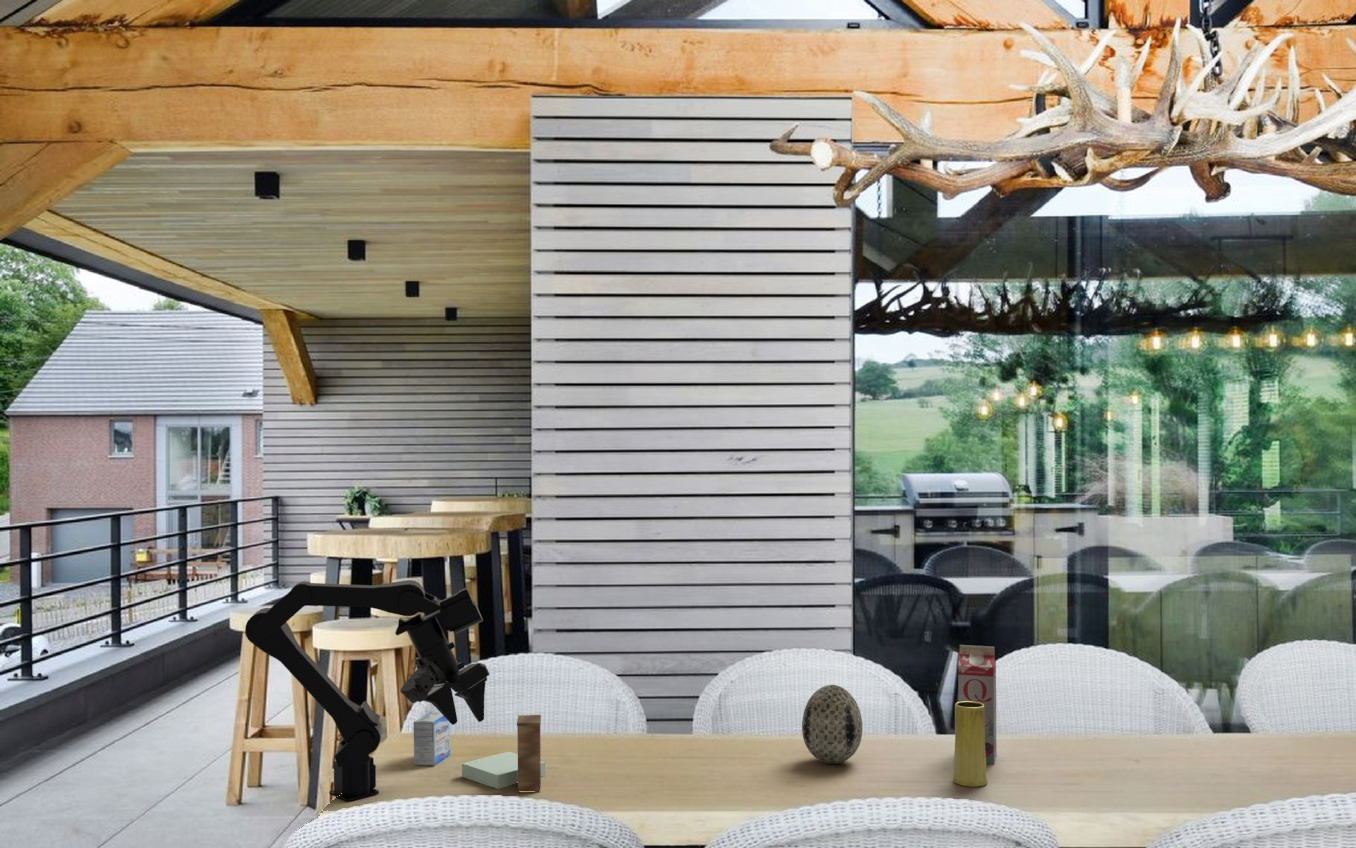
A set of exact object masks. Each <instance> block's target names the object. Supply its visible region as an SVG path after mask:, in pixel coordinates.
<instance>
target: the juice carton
mask: <svg viewBox="0 0 1356 848" xmlns="http://www.w3.org/2000/svg"><path fill="white" fill-rule="evenodd" d="M995 652H996V651H995V646H989V645H988V646H987V645H986V646H984V645H967V644H966V645H965V644H959V656H958V663H957V671H958V672H957V674H958V675H957V676H958V679H957V680H958V681H957V682H958V683H957V684H958V686H957V691H958V692H957V694H958V696H957V697H958V701H957V702H960V701H974V702H979V703H982V704H984V720H985V754H986V764H990V765H991V764H992V765H995V762H996V760H997V759H996V757H997V662H996V657H995Z"/></svg>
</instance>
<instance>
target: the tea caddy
mask: <svg viewBox="0 0 1356 848" xmlns="http://www.w3.org/2000/svg"><path fill="white" fill-rule="evenodd" d="M541 719H542V715H541V714H526V715H524V714H522V715H519V714H518V715H517V720H516V721H517V722H516V727H517V754H518V784H517V792H518V791H540V792H541V790H540V789H541V788H542V785H541V784H542V781H541V780H542V777H541V761H542V759H541V756H542V753H541V752H542V751H541V748H542V747H541V746H542V744H541V743H542V741H541V740H542V739H541V725H542V724H541V723H542V720H541Z"/></svg>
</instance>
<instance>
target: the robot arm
mask: <svg viewBox="0 0 1356 848" xmlns="http://www.w3.org/2000/svg"><path fill="white" fill-rule="evenodd" d="M306 606H314V607H315V606H316V607H318V606H319V607H340V608H341V607H343V608H365V609H366V608H368V609H369V608H370V609H376V610H380V611H382V612H385V613H390V614H394V615H399V616H404V617H410V618H407V619H404V618H402V617H400V618H399V619H398V625H397V627H396V630H395V636H400V635H402V634H404V633H407V634H408V637H409V639H410V641H411V643H412V645H413V647H414V649H415V651H416V654H417V656H418V657H416V658H415V659H414V662H415V666H416V668H417V669H416V670H415V671H414V672H413V673H412V674H411V675H410V676H409V678H408V679H407V680H406V681H405V683H404V684H403V685H402V686H401V688H400V690H399V692H400V693H401V694H402V695H403V696H404V697H405V698H406V699H407V701H409V702H410V703H411V704H414V703H415V702H416V703H417V702H418V703H422V702H426V703H430V704H431V705H433V706H434V707H435V708H436V709H437V710H438V712H441V713H442V714H443V716H444V717H445V718H446V719H447V720H448V721H449V722H450V724H451V725H453V726H454V725H456V724H457V723H458V716H457V710H456V705H455V701H454V700H455V699H454V696H455V697H459V698H461V699H462V700H463V699H464V701H465V703H466V705H467V707H468V708H469V709H470V711H471V714H473V716H474V717H475V719H476V720H477V721H478V723H481V722H483V721H484V720H485V695H486V694H485V693H486V691H485V690H486V682H487V681H488V677H489V676H490V672H489V670H488V668H487V666H486V664H485V663H481V662H475V663H471V664H470V663H469V664H468V665H466V666H465V665H464V662H463V661H461V662H458V660H457V659H456V656H455V654H454V652H453V650H452V649H454V648H455V647H456V646H455V643H454V641H450V642H449V641H448V639H447V638H446V636H445V633H444V631H443V629H442V627H441V625H440V622H439V620H438V619H437V617H439V618H440V621H441V623H442V625H443V627H444V629H445V631H446V633H448V632H449V633H451V632H452V633H453V634H454V635H457V634H459V633H461V632H463V631H464V630H467V629H470V628H471V627H474V626H476V625H477V624H480V623H481V622H483V621H484V619H483V616H482V614H481V612H480V610H479V607H478V605H477V603H476V601H475V600H473V597H472V595H471V594H470V592H469V590H468V588H467V587H464V588H462V589H460V590H458V592H456V593H455V594H452V595H450V596H448V597H446V598H444V599H442V600H441V599H440V598H438V597H437V596H434V595H432V594H430V593H428V592H426V590H425V589H424V586H422V584H421V583H420V582H419V581H416V580H413V579H408V580H399V581H393V582H391V581H390V582H386V583H382V584H376V585H373V584H372V585H371V584H370V585H369V584H367V585H366V584H346V583H345V584H344V583H343V584H342V583H323V582H322V583H320V582H319V583H318V582H317V583H316V582H309V581H300V582H296V584H295V585H294V586H293V587H292V588H291V589H290V591H288V592H287V593H286V594H284V596H283V597H282V598H280V599H279V600H278V601H277V602H276V603H275V604H273V605H272V606H271V607H265V608H260V609H259V610H257V611H255V613H253V615H251V616H250V618H249V619H248V620H247V622H246V624H245V632H244V633H245V637H246V639H247V640H248V641H249V642H250V644H252V645H254V646H255V647H257V648H258V649H259V650H261V652H263V653H265V654H267V655H268V656H270V657H272V658H274V659H275V660H277V661H278V662H280V663H281V665H283V666H284V668H286V670H288V672H289V673H290V674H291V675H292V676H293V677H294V678H295V679H296V680H297V682H299V684H301V686H302V687H303V688H304V689H305V690H306V691H307V693H309V694H310V696H311V697H312V698H313V699H314V700H315V701H316V702H317V703H318V705H320V706H321V707H322V708H323V710H324V711H325V712H326V713H327V714H328V716H330V717H331V719H332V720H333V722H334V723H335V725H336V728H337V730H338V732H339V734H340V736H341V738H342V740H341V741H339V743H338V746H337V749H336V752H335V755H334V759H335V761H333V790H329V792H328V793H329V795H331V796H333V797H335V798H338V799H340V800H343V801H345V802H351V801H355V800H359V799H362V798H365V797H369V796H373V795H372V794H374V795H377V794H379V789H377V788H376V787H377V779H376V778H377V776H376V775H377V773H376V772H377V771H376V768H377V766H376V765H375V764H374V757H372V756H370V754H373V753H374V752H375V751H376V750H377V749H378V747H379V745H380V743H381V741H382V735H383V725H382V723H381V720H380V719H381V715H380V714H379V713H376V712H375V710H373V709H372V707H371V706H370V704H369V703H368V702H367V701H366V700H365V701H363V702H362V704H360V705H359V704H357V703H355V702H353V701H352V700H351V699H349V697H347V695H346V694H344V692H343V691H342V690H341V689H340V688H339V687H338V686H337V685H336V684H335V682H334V681H333V680H332V679H331V677H329V676H328V674H326V673H325V672H324V670H323V669H322V668H321V667H320V665H318V664H317V663H316V662H315V661H314V660H313V658H312V657H311V656H310V655H309V654H308V653H307V652H306V651H305V650H304V648H302V647H301V646H300V644H299V643H298V640H297V639H296V637H295V635H294V633H293V630H292V628H291V627H290V625H289V624H288V621H289V620H290V619H291V618H293V617H294V616H295V615H296V614H297V613H299V611H301V610H302V609H303V608H304V607H306ZM421 613H423V614H428V615H424V616H423V615H422V614H421ZM411 616H412V617H411ZM453 691H454V692H455V693H454V696H453ZM341 793H342V794H341ZM339 795H340V796H339ZM337 796H338V797H337Z"/></svg>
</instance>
